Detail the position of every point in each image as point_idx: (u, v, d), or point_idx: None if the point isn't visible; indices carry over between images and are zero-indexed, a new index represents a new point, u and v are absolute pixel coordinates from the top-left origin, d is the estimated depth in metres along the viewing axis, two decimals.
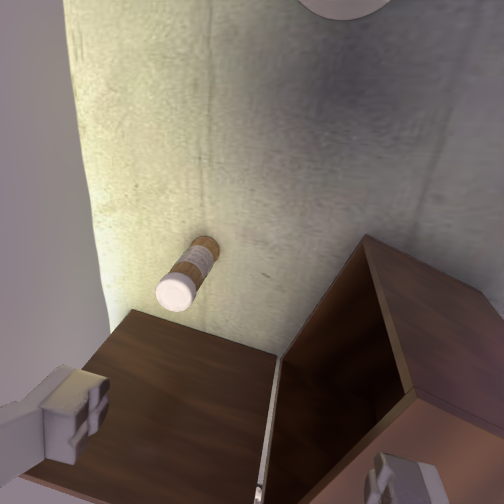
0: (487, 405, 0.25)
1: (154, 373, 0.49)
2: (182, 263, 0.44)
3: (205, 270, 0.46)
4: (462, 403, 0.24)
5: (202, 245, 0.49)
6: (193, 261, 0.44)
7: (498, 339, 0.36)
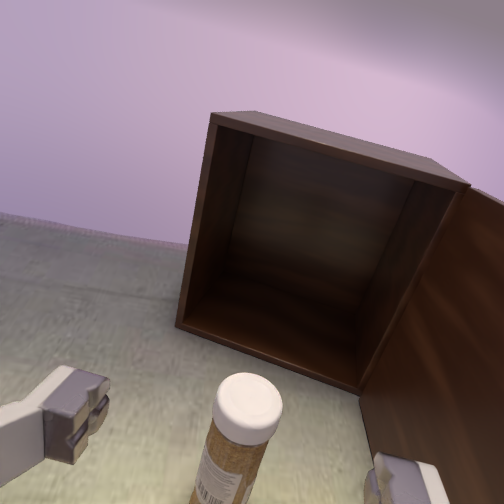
0: None
1: (466, 486, 0.23)
2: (208, 442, 0.24)
3: None
4: None
5: None
6: None
7: None
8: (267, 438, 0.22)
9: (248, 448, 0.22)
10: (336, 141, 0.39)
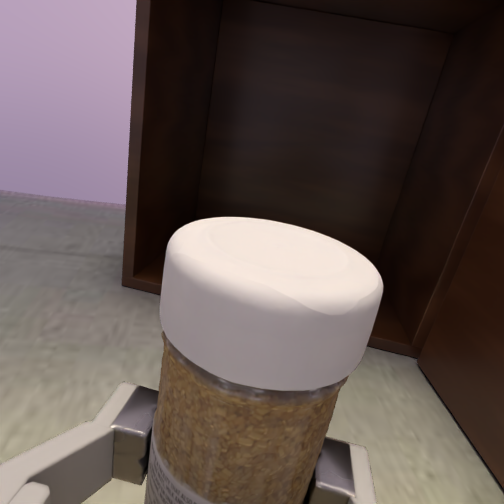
0: None
1: None
2: (157, 419, 0.08)
3: None
4: None
5: None
6: None
7: None
8: (352, 364, 0.06)
9: (290, 405, 0.06)
10: None
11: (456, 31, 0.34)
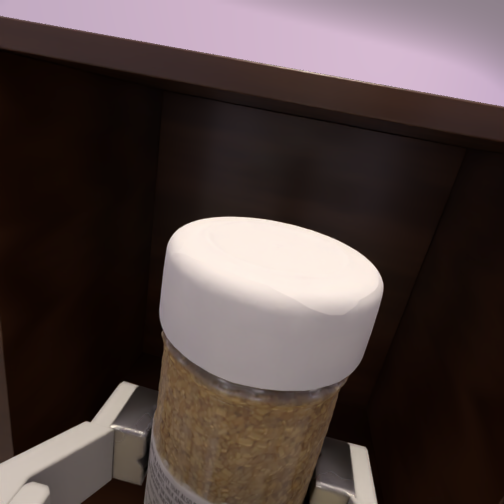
0: None
1: None
2: (157, 419, 0.08)
3: None
4: None
5: None
6: None
7: None
8: (352, 364, 0.06)
9: (290, 406, 0.06)
10: None
11: (470, 148, 0.25)
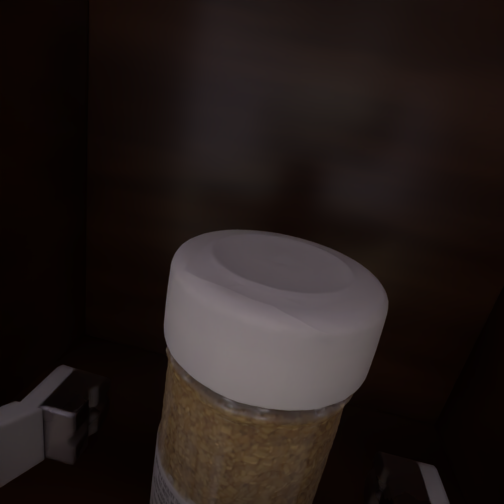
0: None
1: None
2: (162, 433, 0.08)
3: None
4: None
5: None
6: None
7: None
8: (358, 382, 0.06)
9: (296, 424, 0.06)
10: None
11: None
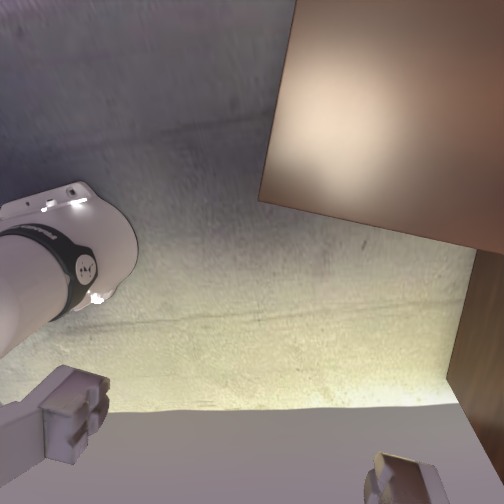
0: None
1: (498, 379, 0.39)
2: None
3: None
4: None
5: None
6: None
7: None
8: None
9: None
10: None
11: None
